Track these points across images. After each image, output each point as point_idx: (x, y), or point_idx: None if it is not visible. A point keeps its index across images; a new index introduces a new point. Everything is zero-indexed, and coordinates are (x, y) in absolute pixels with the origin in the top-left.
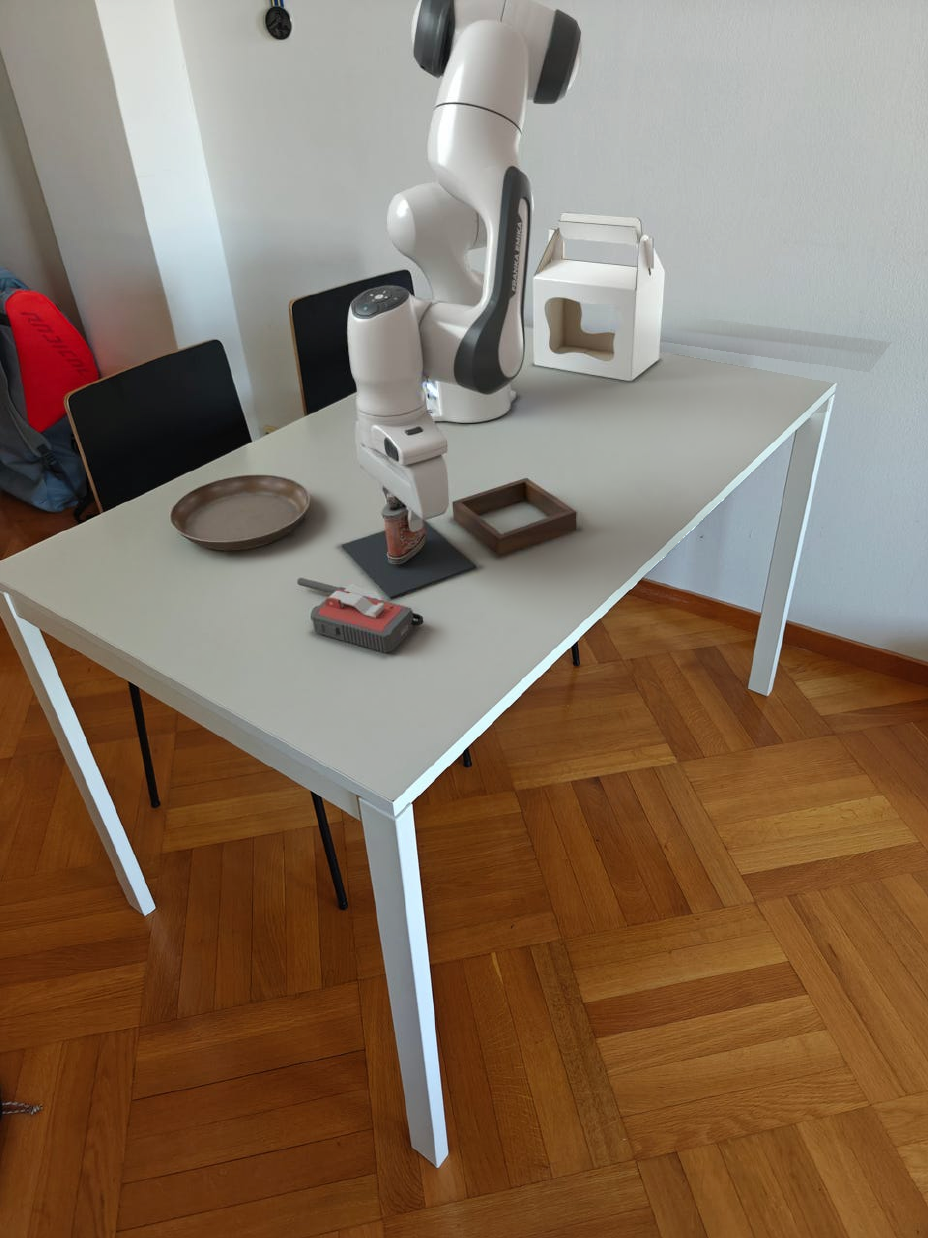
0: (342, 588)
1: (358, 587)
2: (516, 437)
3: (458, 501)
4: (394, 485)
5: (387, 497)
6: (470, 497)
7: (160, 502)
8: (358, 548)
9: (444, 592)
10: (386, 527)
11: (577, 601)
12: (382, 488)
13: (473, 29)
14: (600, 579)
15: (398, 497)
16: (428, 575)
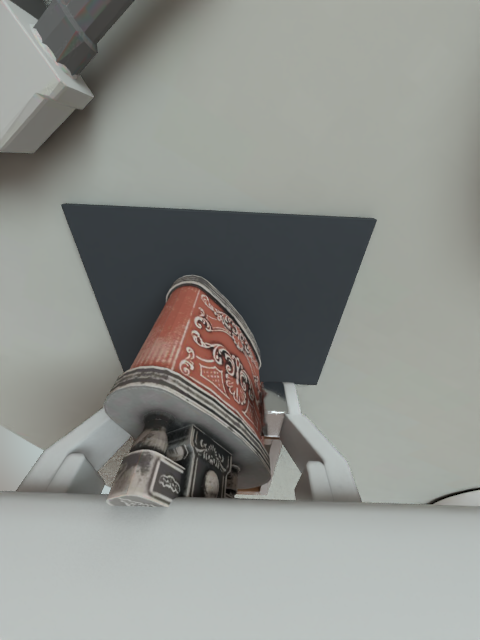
0: (55, 28)
1: (27, 98)
2: (377, 499)
3: (276, 443)
4: (41, 619)
5: (137, 478)
6: (274, 454)
7: None
8: (322, 248)
9: (67, 308)
10: (159, 340)
11: (4, 412)
12: (318, 457)
13: None
14: (51, 440)
15: (54, 517)
16: (125, 313)
